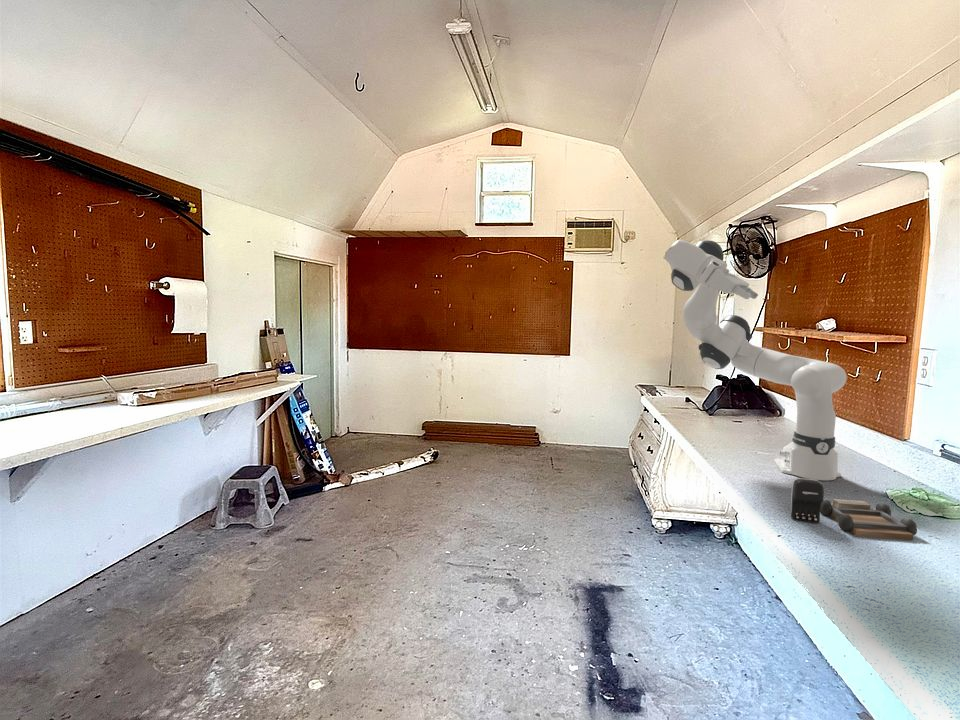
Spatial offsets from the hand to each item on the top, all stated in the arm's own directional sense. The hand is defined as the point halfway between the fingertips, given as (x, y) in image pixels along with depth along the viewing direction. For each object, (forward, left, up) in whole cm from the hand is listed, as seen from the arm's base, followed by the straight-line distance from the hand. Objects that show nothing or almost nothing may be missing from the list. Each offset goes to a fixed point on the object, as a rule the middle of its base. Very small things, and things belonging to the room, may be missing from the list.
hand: (753, 297), depth 149 cm
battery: (+19, +11, -61) cm, 65 cm away
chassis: (+18, +26, -61) cm, 68 cm away
